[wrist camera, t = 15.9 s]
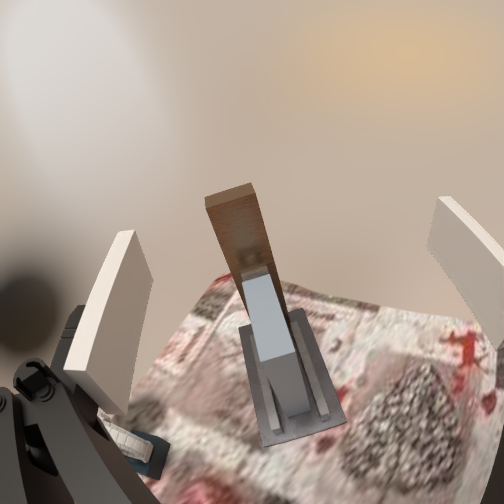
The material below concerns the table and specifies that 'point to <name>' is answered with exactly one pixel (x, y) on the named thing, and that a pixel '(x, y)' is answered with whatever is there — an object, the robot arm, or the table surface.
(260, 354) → the door panel
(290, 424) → the base
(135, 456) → the watch
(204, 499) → the table surface
